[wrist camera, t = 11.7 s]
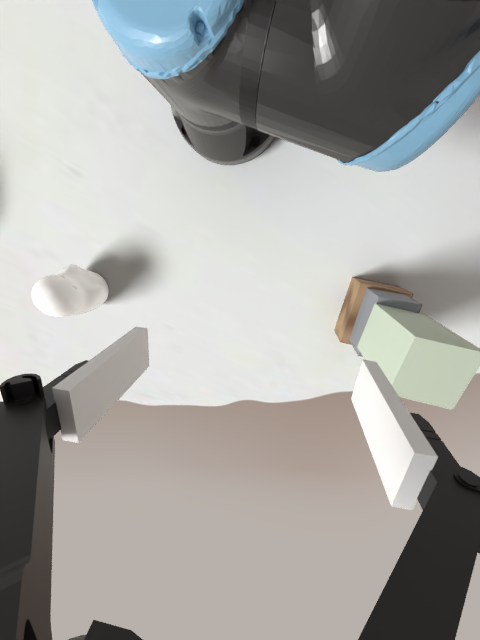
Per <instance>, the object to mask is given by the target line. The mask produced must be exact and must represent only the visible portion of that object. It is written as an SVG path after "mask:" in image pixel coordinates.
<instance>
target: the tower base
mask: <svg viewBox="0 0 480 640" xmlns="http://www.w3.org/2000/svg"><path fill="white" fill-rule="evenodd" d="M366 288H371V289H376V290H382V291H388V292H393V293H399V294H404V295H406V296H408V297H409V298H411V299H412V296H413V294H412V293H410V292H408V291H406V290H404V289H402V288H400V287H398V286H393V285H388V284H383V283H379V282H374V281H369V280H364V279H359V278H355V277H352V279H351V282H350V285H349V288H348V291H347V294H346V297H345V300H344V303H343V306H342V309H341V312H340V315H339V318H338V321H337V324H336V327H335V330H334V331H335V333H336V335H337V336H338V338H339V340H340V342H342V343H347V344H351V343H350V341H349V339H350V336H351V333H352V330H353V327H354V324H355V321H356V318H357V315H358V312H359V309H360V306H361V303H362V300H363V296H364V293H365V290H366ZM351 345H352V344H351Z"/></svg>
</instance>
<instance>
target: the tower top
mask: <svg viewBox="0 0 480 640" xmlns="http://www.w3.org/2000/svg"><path fill="white" fill-rule="evenodd" d="M375 303H376V304H380V305H385V306H389V307H393V308H398V309H402V310H407V311H411V312H415V313H419V312H420V309H421V307H422V304H420V303H418V302H417V301H415V300H413V299H411V298H409V297H408V296H406V295H404V294H399V293H393V292H388V291H382V290H376V289H371V288H366V290H365V293H364V296H363V300H362V303H361V306H360V309H359V312H358V315H357V318H356V321H355V324H354V327H353V330H352V333H351V336H350V339H349V341H350V343H351V344H352V346H353V348H354V349H355V351H356V353H357V354H358V356H362V354H361V352H360V351H359V349H358V348H357V346H358V343H359V341H360V339H361V336H362V334H363V331H364V329H365V326H366V324H367V321H368V319H369V317H370V314H371V312H372V309H373V307H374V304H375ZM362 357H363V356H362Z"/></svg>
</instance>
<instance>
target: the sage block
mask: <svg viewBox="0 0 480 640" xmlns="http://www.w3.org/2000/svg"><path fill="white" fill-rule="evenodd" d="M357 348H358V349H359V351H360V352H361V354H362V356H363V357H364V359H365V360H369V361H375V362H377V363H378V365H379V366H380V368H381V370H382V371H383V373H384V374H385V376H386V377H387V379H388V380H389V382H390V383H391V385H392V387H393V388H394V390H395V391H396V393H397V394H398V396H399V397H402V398H406V399H410V400H414V401H418V402H422V403H426V404H431V405H434V406H438V407H443V408H447V409H451V410H453V408H454V407H455V405H456V403H457V402H458V400H459V399H460V397H461V395H462V394H463V392H464V391H465V389H466V387H467V385H468V384H469V382H470V381H471V379H472V378H473V376H474V374H475V373H476V371H477V369H478V368H479V366H480V349H479V348H478V347H476V346H475V345H473V344H471V343H470V342H468V341H467V340H465V339H463V338H462V337H460V336H459V335H457V334H455V333H454V332H452V331H451V330H449V329H447V328H446V327H444V326H443V325H441V324H439V323H438V322H436V321H434V320H433V319H431V318H430V317H428V316H426V315H424V314H420V313H415V312H411V311H407V310H402V309H398V308H393V307H389V306H385V305H380V304H376V303H375V304H374V307H373V309H372V312H371V314H370V317H369V319H368V321H367V324H366V326H365V329H364V331H363V334H362V336H361V339H360V341H359V343H358V346H357Z"/></svg>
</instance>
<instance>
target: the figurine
mask: <svg viewBox="0 0 480 640" xmlns="http://www.w3.org/2000/svg"><path fill="white" fill-rule="evenodd" d="M108 294H109V289H108V285H107V283H106V281H105V280H104V279H103V278H102V277H101V276H100V275H99V274H97V273H94V272H91V271H88V270H85V269H83V268H81V267H79V266H77V265H70V266H68V267H66V268H64V269H63V270H62V271H61V272H60V273H58V274H57V275H50V276H46V277H44V278H42V279H40V280H39V281H38V282H37V283H36V284H35V285H34V287H33V289H32V300H33V302H34V304H35V305H36V307H37V308H38V309H39V310H40V311H42V312H43V313H45V314H48V315H51V316H57V317H65V316H71V315H78V314H83V313H86V312H89V311H91V310H93V309H95V308H97V307H99V306H100V305H102V304H103V303H104V302H105V301H106V299H107V298H108Z"/></svg>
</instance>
